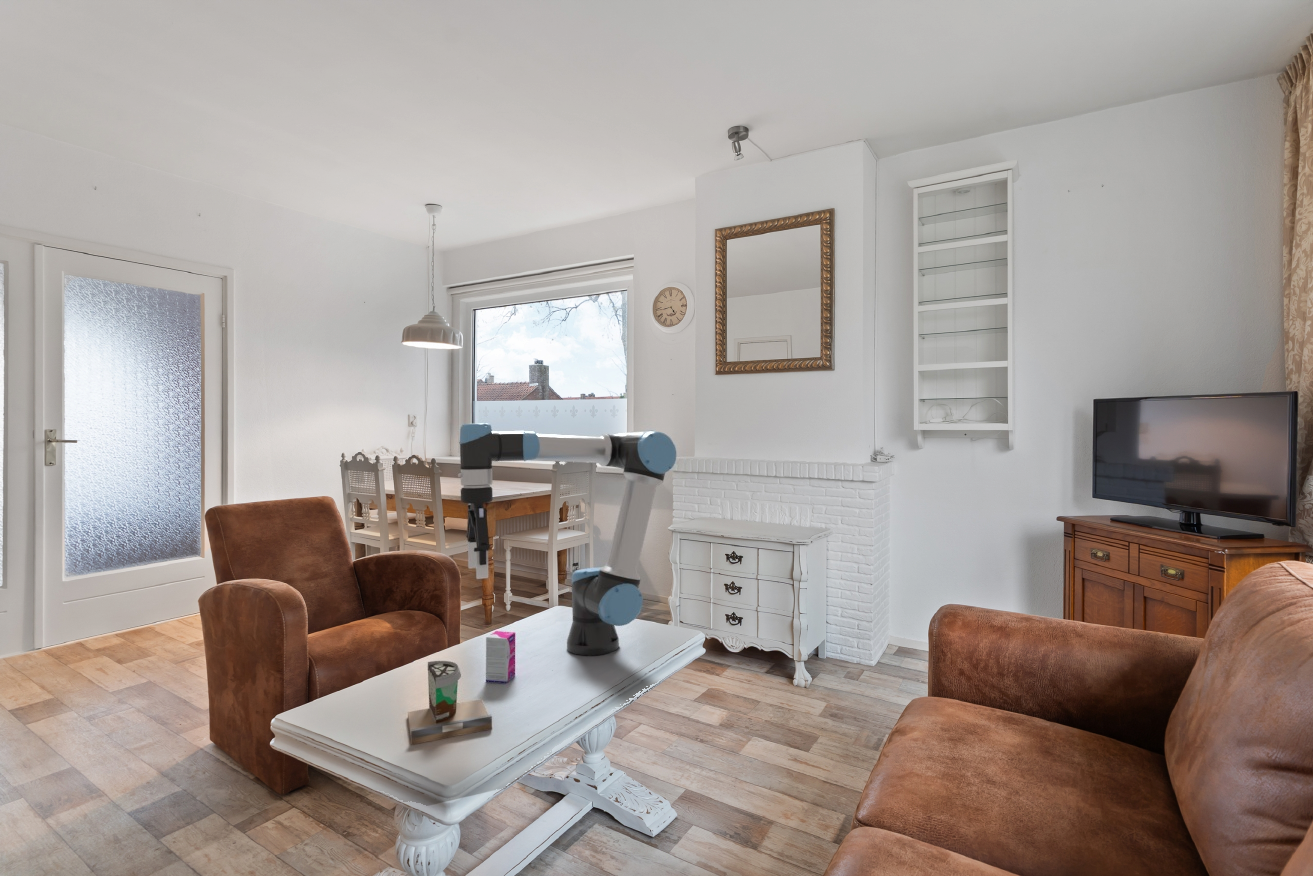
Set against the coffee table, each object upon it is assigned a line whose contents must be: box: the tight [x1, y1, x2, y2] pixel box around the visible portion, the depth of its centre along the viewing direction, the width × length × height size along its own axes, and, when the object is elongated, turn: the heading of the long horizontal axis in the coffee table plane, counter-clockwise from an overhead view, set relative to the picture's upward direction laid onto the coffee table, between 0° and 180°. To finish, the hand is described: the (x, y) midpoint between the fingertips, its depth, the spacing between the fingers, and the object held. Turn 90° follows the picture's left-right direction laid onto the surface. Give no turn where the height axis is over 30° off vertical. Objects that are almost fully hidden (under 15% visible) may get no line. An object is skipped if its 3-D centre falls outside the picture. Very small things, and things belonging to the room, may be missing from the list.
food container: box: [427, 660, 462, 723], centre depth 143 cm, size 12×6×10 cm, turn 28°
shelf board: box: [407, 698, 493, 745], centre depth 140 cm, size 16×14×3 cm
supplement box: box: [485, 630, 516, 684], centre depth 165 cm, size 6×6×12 cm
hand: (478, 573), depth 158 cm, fingers open, 13 cm apart
